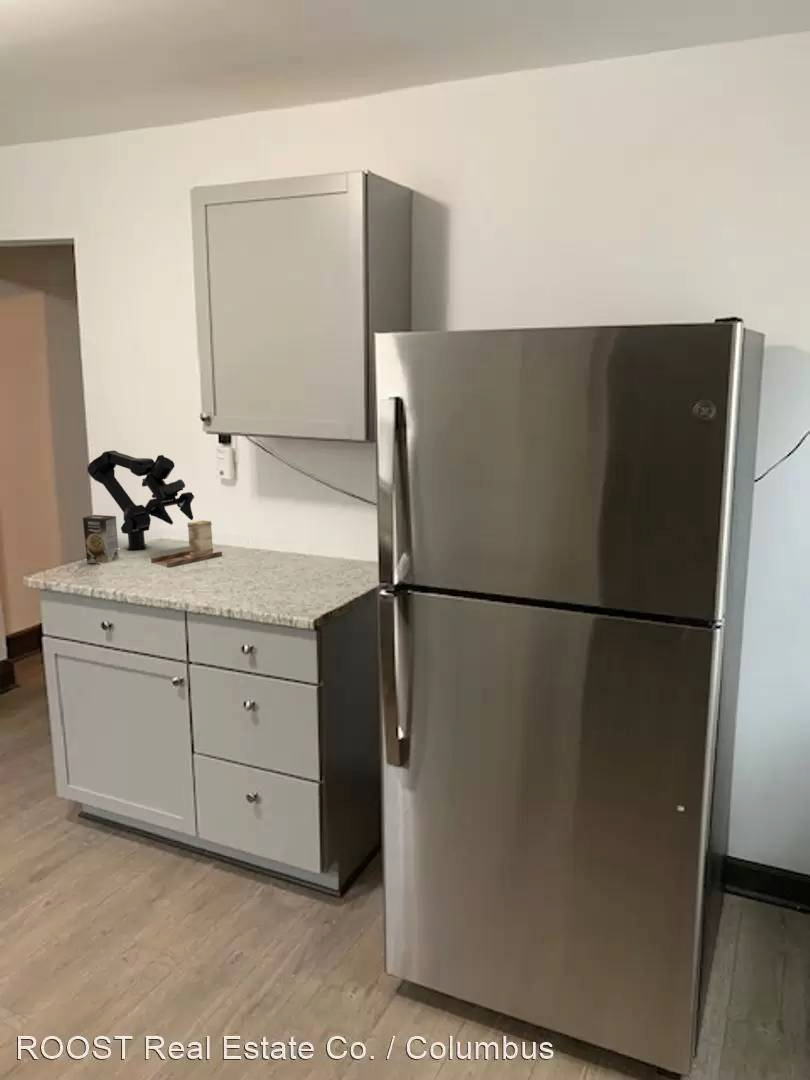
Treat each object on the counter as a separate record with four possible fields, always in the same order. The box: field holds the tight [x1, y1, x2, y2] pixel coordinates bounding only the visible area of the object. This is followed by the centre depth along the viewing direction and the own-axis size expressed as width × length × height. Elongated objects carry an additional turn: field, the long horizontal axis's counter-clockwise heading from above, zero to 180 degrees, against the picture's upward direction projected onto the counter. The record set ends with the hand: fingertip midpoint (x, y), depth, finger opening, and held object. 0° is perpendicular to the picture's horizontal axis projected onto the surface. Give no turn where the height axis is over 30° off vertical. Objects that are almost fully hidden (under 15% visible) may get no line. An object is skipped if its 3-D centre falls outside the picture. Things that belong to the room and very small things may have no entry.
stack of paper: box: [186, 519, 214, 557], centre depth 290 cm, size 6×6×12 cm
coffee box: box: [82, 514, 120, 565], centre depth 287 cm, size 9×6×16 cm
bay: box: [150, 549, 223, 569], centre depth 287 cm, size 21×11×2 cm, turn 137°
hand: (182, 521), depth 293 cm, fingers open, 9 cm apart
